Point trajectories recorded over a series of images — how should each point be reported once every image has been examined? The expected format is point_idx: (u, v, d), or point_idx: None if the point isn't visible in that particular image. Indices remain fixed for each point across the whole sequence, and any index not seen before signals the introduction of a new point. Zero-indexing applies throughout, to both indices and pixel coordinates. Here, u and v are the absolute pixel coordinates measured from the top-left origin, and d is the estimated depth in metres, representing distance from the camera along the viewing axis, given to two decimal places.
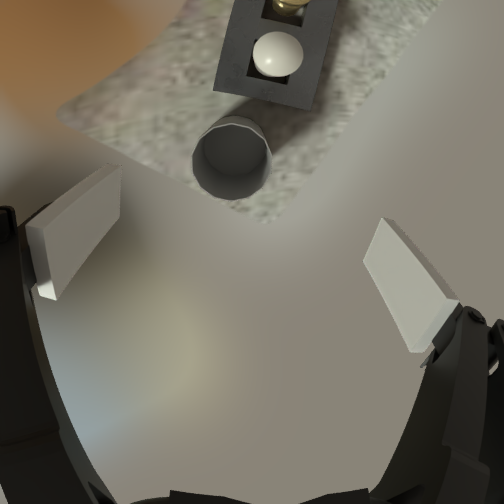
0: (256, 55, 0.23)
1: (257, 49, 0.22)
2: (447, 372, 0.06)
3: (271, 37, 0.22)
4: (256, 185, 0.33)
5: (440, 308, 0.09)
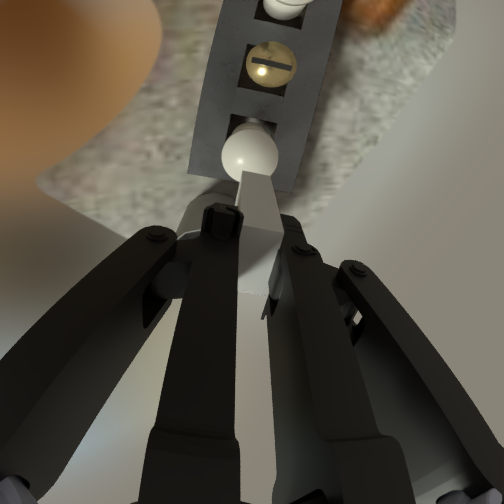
0: (225, 160, 0.23)
1: (226, 153, 0.23)
2: (290, 332, 0.07)
3: (241, 137, 0.22)
4: None
5: (259, 240, 0.10)
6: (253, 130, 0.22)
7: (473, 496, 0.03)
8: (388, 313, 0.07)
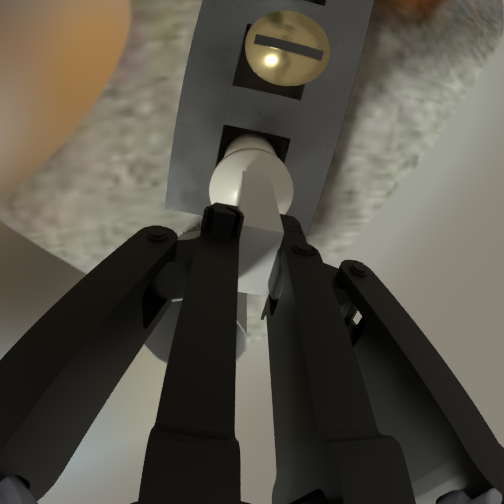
0: (215, 197, 0.16)
1: (215, 186, 0.16)
2: (290, 332, 0.07)
3: (239, 163, 0.15)
4: None
5: (259, 240, 0.10)
6: (256, 152, 0.15)
7: (473, 496, 0.03)
8: (388, 313, 0.07)
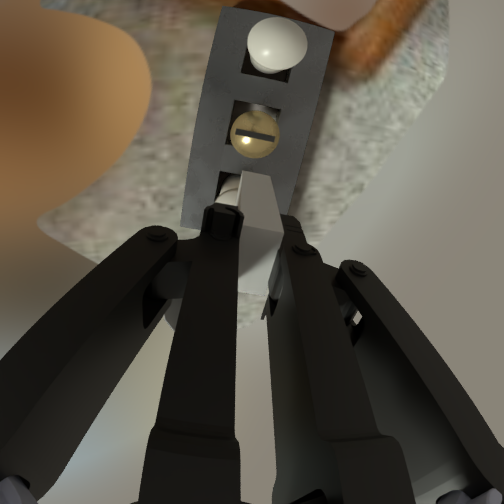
0: None
1: None
2: (290, 332, 0.07)
3: (229, 198, 0.28)
4: None
5: (259, 240, 0.10)
6: None
7: (473, 496, 0.03)
8: (388, 313, 0.07)
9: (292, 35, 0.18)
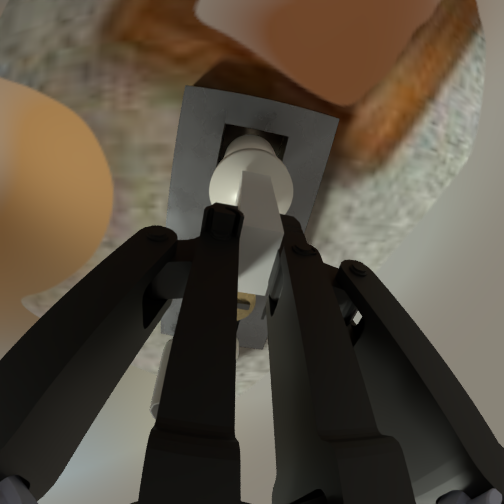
0: None
1: None
2: (290, 331, 0.07)
3: None
4: None
5: (259, 240, 0.10)
6: None
7: (473, 496, 0.03)
8: (388, 313, 0.07)
9: (273, 181, 0.16)
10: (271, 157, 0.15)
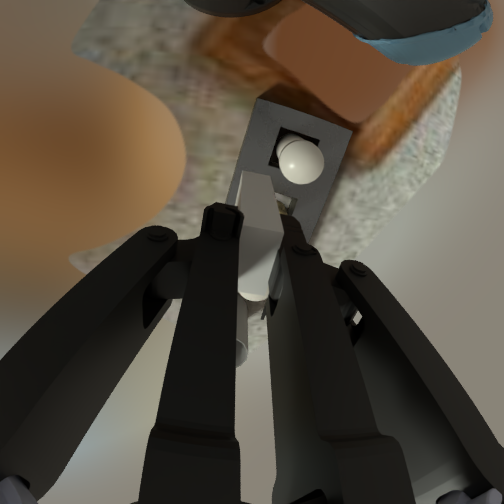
0: None
1: None
2: (290, 332, 0.07)
3: None
4: (236, 357, 0.44)
5: (259, 240, 0.10)
6: None
7: (473, 496, 0.03)
8: (388, 313, 0.07)
9: (314, 157, 0.29)
10: (314, 145, 0.28)
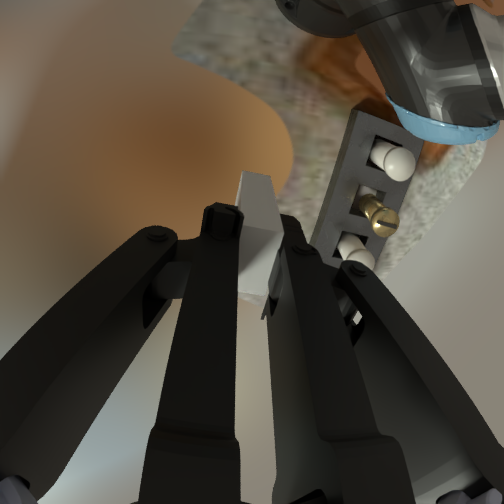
0: None
1: None
2: (290, 331, 0.07)
3: (359, 256, 0.42)
4: None
5: (259, 240, 0.10)
6: (365, 252, 0.41)
7: (473, 496, 0.03)
8: (388, 313, 0.07)
9: (409, 161, 0.34)
10: (409, 151, 0.33)
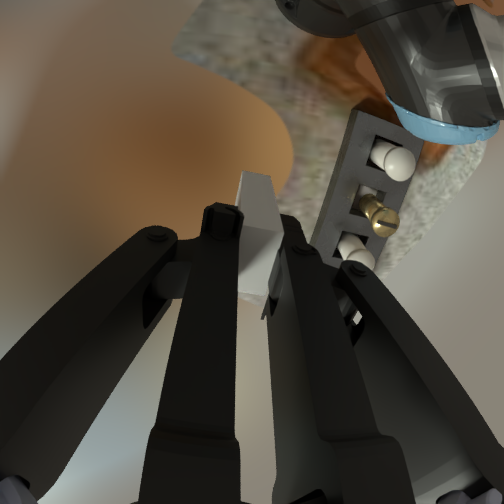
0: None
1: None
2: (290, 332, 0.07)
3: (359, 256, 0.42)
4: None
5: (259, 240, 0.10)
6: (365, 252, 0.41)
7: (473, 496, 0.03)
8: (388, 313, 0.07)
9: (409, 161, 0.34)
10: (409, 151, 0.33)
